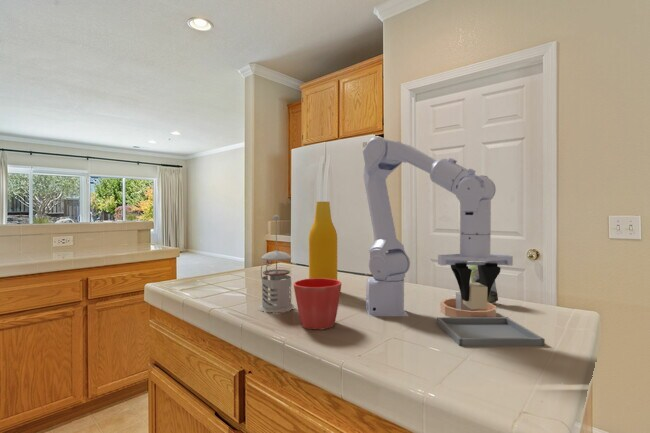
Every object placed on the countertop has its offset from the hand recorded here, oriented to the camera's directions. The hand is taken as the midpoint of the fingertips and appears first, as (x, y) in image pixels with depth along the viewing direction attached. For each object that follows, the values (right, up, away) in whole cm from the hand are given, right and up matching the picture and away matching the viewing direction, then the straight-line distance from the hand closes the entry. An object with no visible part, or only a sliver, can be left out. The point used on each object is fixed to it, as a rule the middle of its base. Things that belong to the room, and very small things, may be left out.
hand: (474, 300), depth 69 cm
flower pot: (-32, -8, +8) cm, 34 cm away
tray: (+3, -8, +1) cm, 8 cm away
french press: (-44, -8, +22) cm, 50 cm away
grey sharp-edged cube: (+5, -7, +16) cm, 18 cm away
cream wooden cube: (0, -1, 0) cm, 1 cm away
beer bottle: (-31, -7, +39) cm, 51 cm away
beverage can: (+14, -7, +25) cm, 29 cm away
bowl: (+5, -7, +14) cm, 16 cm away
